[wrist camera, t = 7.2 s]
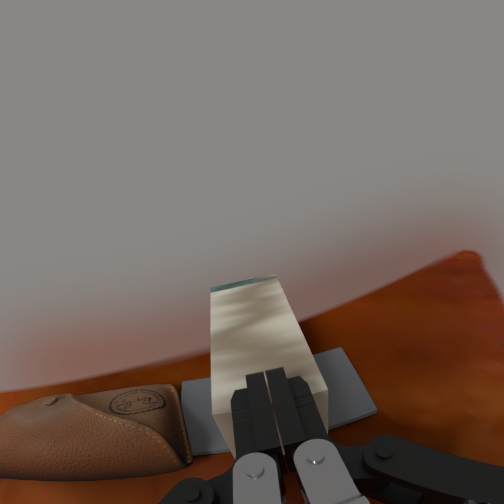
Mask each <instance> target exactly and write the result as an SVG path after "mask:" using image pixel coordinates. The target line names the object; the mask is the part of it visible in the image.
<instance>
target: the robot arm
mask: <svg viewBox="0 0 504 504" xmlns="http://www.w3.org/2000/svg"><path fill="white" fill-rule="evenodd" d="M265 373H266V377H267V382H268V386H269V390H270V395H271V399H272V403H273V407H274V412H275V416H276V420H277V424H278V428H279V432H280V436H281V440H282V444H283V448H284V452H285V456H286V460H287V464H288V468H289V472H290V473H292V472H295V473H296V477H297V481H298V484H299V489H300V492H301V495H302V497H303V500H304V502H305V504H370V502H369V501H368V499H367V498H366V497H365V496H368V497H370V498H372V499H375V500H377V501H380V502H382V503H385V504H504V467H502V466H497V465H492V464H487V463H483V462H479V461H474V460H470V459H466V458H463V457H459V456H455V455H452V454H448V453H445V452H441V451H438V450H435V449H431V448H428V447H425V446H422V445H419V444H416V443H413V442H410V441H407V440H404V439H402V438H399V437H396V436H393V435H381V436H377V437H375V438H374V439H372V440H371V441H370V442H369V443H368V444H365V445H342V444H339V443H336V442H335V441H333V440H332V439H331V438H330V437H329V436H328V434H327V431H326V429H325V426H324V424H323V421H322V418H321V416H320V413H319V411H318V408H317V406H316V404H315V400H314V398H313V396H312V393H311V390H310V387H309V385H308V383H307V382H306V381H305V380H303V379H302V378H301V377H300V376H296V377H292V378H288V379H287V377H286V374H285V371H284V368H283V367H279V368H274V369H270V370H266V371H265ZM245 377H246V384H247V388H243V389H238V390H235V391H234V393H233V396H232V398H231V401H230V402H231V412H232V421H233V432H234V441H235V450H236V459H235V462H234V464H233V466H232V467H231V468H230V469H229V470H228V471H227V472H225V473H224V474H222V475H220V476H217V477H215V478H212V479H210V480H207V481H205V480H203V479H200V478H187V479H184V480H182V481H180V482H178V483H177V484H176V485H175V486H174V487H173V488H172V490H171V491H170V492H169V493H168V494H167V495H166V496H165V497H164V498H163V499H162V500H161V501H160V502H159V503H158V504H287V503H286V495H285V492H286V488H285V483H284V479H283V475H284V474H288V472H287V468H286V464H285V460H284V456H283V451H282V447H281V443H280V439H279V435H278V431H277V427H276V422H275V418H274V414H273V410H272V406H271V401H270V397H269V393H268V389H267V385H266V380H265V376H264V372H263V371H262V372H257V373H252V374H247V375H245ZM360 493H361V494H363V495H361V494H360ZM364 495H365V496H364Z"/></svg>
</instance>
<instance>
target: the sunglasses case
mask: <svg viewBox="0 0 504 504" xmlns="http://www.w3.org/2000/svg"><path fill="white" fill-rule="evenodd" d="M192 463H193V456H192V451H191V446H190V442H189V437H188V433H187V429H186V425H185V420H184V416H183V412H182V408H181V403H180V398H179V394H178V391H177V389H176V387H175V386H174V385H172V384H151V385H142V386H135V387H129V388H122V389H115V390H109V391H102V392H97V393H91V394H85V395H80V396H79V395H78V396H74V395H73V394H72V393H65V394H59V395H52V396H46V397H43V398H39V399H37V400H34V401H32V402H30V403H26V404H22V405H17V406H15V407H11V408H10V409H9V410H8V411H7V412H5V413H4V414H2V415H0V478H8V479H19V480H38V481H97V480H112V479H123V478H133V477H144V476H151V475H156V474H162V473H168V472H174V471H177V470H181V469H184V468H186V467H188V466H190V465H191V464H192Z"/></svg>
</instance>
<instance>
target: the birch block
mask: <svg viewBox="0 0 504 504" xmlns="http://www.w3.org/2000/svg"><path fill="white" fill-rule="evenodd" d="M279 367H283V368H284V371H285V374H286V377H287V379H288V378H292V377H296V376H300V377H301V378H302V379H303V380H305V381H306V382H307V383H308V385H309V387H310V390H311V393H312V396H313V398H314V400H315V404H316V406H317V408H318V411H319V413H320V416H321V418H322V421H323V424H324V426H325V429H326V431H327V434H328V388H327V386H326V384H325V382H324V379H323V377H322V375H321V373H320V371H319V368H318V366H317V364H316V362H315V360H314V357H313V355H312V353H311V351H310V348H309V346H308V344H307V342H306V340H305V338H304V335H303V333H302V331H301V329H300V327H299V324H298V322H297V320H296V318H295V316H294V313H293V312H292V309H291V307H290V305H289V303H288V300H287V298H286V296H285V294H284V292H283V290H282V287H281V286H280V283H279V281H278V279H277V277H276V274H272V275H268V276H264V277H259V278H254V279H250V280H245V281H240V282H236V283H231V284H226V285H222V286H217V287H212V288H211V396H212V416H213V418H214V420H215V422H216V424H217V426H218V428H219V430H220V432H221V434H222V436H223V438H224V440H225V442H226V443H227V445H228V447H229V449H230V451H231V453H232V455H233V457H234V458H235V459H236V450H235V441H234V432H233V421H232V412H231V402H230V401H231V398H232V396H233V393H234V391H235V390H238V389H243V388H247V384H246V377H245V375H247V374H252V373H257V372H262V371H263V372H264V376H265V380H266V385H267V389H268V393H269V397H270V401H271V406H272V410H273V414H274V418H275V422H276V427H277V431H278V435H279V439H280V443H281V447H282V451H283V455H285V452H284V448H283V444H282V440H281V436H280V432H279V428H278V424H277V420H276V416H275V412H274V407H273V403H272V399H271V395H270V390H269V386H268V382H267V377H266V373H265V371H266V370H270V369H274V368H279Z"/></svg>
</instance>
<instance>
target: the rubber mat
mask: <svg viewBox="0 0 504 504" xmlns="http://www.w3.org/2000/svg"><path fill="white" fill-rule="evenodd" d="M313 357H314V360H315V362H316V364H317V366H318V368H319V371H320V373H321V375H322V377H323V379H324V382H325V384H326V386H327V388H328V430H330V429H333V428H336V427H339V426H342V425H345V424H348V423H351V422H354V421H357V420H360V419H362V418H365V417H368V416H371V415H373V414H376V413H377V410H378V409H377V407H376V405H375V404H374V402H373V400H372V398H371V397H370V395H369V393H368V391H367V390H366V388H365V386H364V385H363V383H362V381H361V379H360V378H359V376H358V374H357V372H356V371H355V369H354V367H353V366H352V364H351V362H350V361H349V359H348V357H347V355H346V354H345V352H344V350H343V349H342V347H339V348H335V349H332V350H329V351H325V352H322V353H318V354H314V355H313ZM181 408H182V412H183V416H184V420H185V425H186V429H187V433H188V437H189V442H190V446H191V451H192V456H197V455H207V454H216V453H224V452H231V451H230V449H229V447H228V445H227V443H226V442H225V440H224V438H223V436H222V434H221V432H220V430H219V428H218V426H217V424H216V422H215V420H214V418H213V416H212V396H211V377H209V378H203V379H197V380H190V381H183V382H182V392H181Z"/></svg>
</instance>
